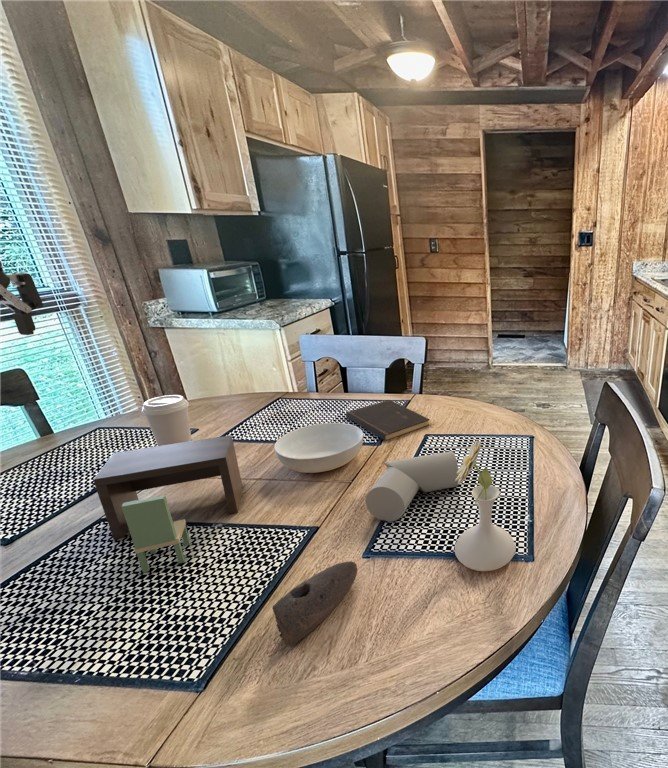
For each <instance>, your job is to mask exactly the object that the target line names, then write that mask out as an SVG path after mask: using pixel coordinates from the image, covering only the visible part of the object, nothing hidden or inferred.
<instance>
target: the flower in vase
mask: <svg viewBox="0 0 668 768" xmlns="http://www.w3.org/2000/svg"><path fill="white" fill-rule="evenodd" d="M481 445H482V442H480V441H479V440H476V441H475V443H471V445H470V446H469V450H468V455H464V456H463V458H462V462H463V463H461V465H460V467H458V471H457V474H459V475H458V477H457V478H456V480H455V481H457V480H458V485H460V484H463V482H464V481H465V480H466V478H467V477H468V476H469V475H470V474H471V472H472V469H473V468H475V469H476V471H477V473H478V474H479V475H478V479H477V480H478V483H479V484H480V485H476V486H475V487H473V488H472V490H471V496H472V498H474V499H475V501H474V505H475V506H478V515H479V516H478V517H479V519H478V524H476V525H474V526H470V527H469V528H467V529H466V530H465V531H463V532H462V533H461V534H460V535H459V536H458V538H457V540H456V542H455V544H454V554H455V558H457V560H458V562H460V563H461V564H462V565H463V566H464V567H466V568H468V569H470V570H473V571H477V572H492V571H496V570H498V569H501V568H504V567H505V566H506V565H507V564H509V562H511V560H512V559H513V558H514V556H515V554H516V543H515V540H514V538H513V537H512V535H511V534H510V533H509V532H508V531H507V530H505V529H504V528H502V527H501V526H498V525H495V524H494V523H493V521H492V516H493V515H492V513H493V507H494V504H495V501H496V500H497V499H498V498H499V496H500V494H501V492H500V489H499V488H498V487H497V486H495V485H493V481H494V480H493V477H492V475H491V473H490V471H489V470H488V468H487V466H485V467H484V468H483V469H482V471H481V470H480V469H479V467H478V465H477V464H476V462H477V460H478V457H479V454H480V450H481V447H482V446H481Z"/></svg>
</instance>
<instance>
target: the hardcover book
mask: <svg viewBox="0 0 668 768" xmlns="http://www.w3.org/2000/svg"><path fill="white" fill-rule="evenodd" d="M346 418H347V419H349V420H350V421H352V422H354V423H355V424H356V425H359V426H360V427H362V428H364V429H365V430H367V431H368V432H370V433H371V434H373V435H375V436H377V437H378V438H380V439H381V440H383V441H385V442H387V441H389V440H392V439H395V438H398V437H401V436H404V435H406V434H409V433H412V432H415V431H418V430H420V429H423V428H426V427H429V426H430V424H429V421H431V419H430V418H428V417H426V416H424V415H422V414H420V413H417V412H416V411H413V410H411V409H409V408H407V407H406V406H403V405H401V404H399V403H397V402H395V401H393V400H391V399H387V400H384V401H380V402H377V403H374V404H370V405H366V406H363V407H360V408H359V407H358V408H356V409H352V410H349V411H347V412H346Z"/></svg>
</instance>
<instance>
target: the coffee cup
mask: <svg viewBox="0 0 668 768" xmlns="http://www.w3.org/2000/svg"><path fill="white" fill-rule="evenodd" d="M189 406H190V403H189V401H188V400H187V399H186V398H185V397H184V396H183V395H180V394H167V395H161V396H157V397H152V398H150V399H147V400H146V401H145V402H143V406H142V407H141V414H142V415H144V416H145V418H146V421H147V423H148V425H149V428H150V430H151V433H152V435H153V437H154V440H155V442H156V446H163V445H169V444H176V443H183V442H189V441H193V440H192V432H191V424H190V418H189V409H188V407H189Z"/></svg>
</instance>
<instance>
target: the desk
mask: <svg viewBox="0 0 668 768" xmlns="http://www.w3.org/2000/svg"><path fill="white" fill-rule="evenodd" d="M215 477H220V479H221V483H222V488H223V492H224V496H225V500H226V505H227V509H228V514H229V515H233V514H238V513H239V511H240V510H239V509H240V503H241V497H242V492H243V482H242V477H241V472H240V467H239V463H238V458H237V453H236V449H235V444H234V440H233V435H223V436H218V437H210V438H204V439H197V440H192V441H189V442H183V443H176V444H169V445H163V446H158V445H156V446H151V447H144V448H137V449H131V450H124V451H117V452H113V453H112V455H111V456H110V457H109V459H108V460H107V461H106V463H104V465H103V466H102V467H101V469H100V471H98V473H97V474H96V475H95V476H94V478H93V479H92V481H93V484H94V486H95V490H96V492H97V495H98V498H99V501H100V504H101V507H102V510H103V513H104V515H105V519H106V522H107V525H108V526H109V530H110V533H111V536H112V538H113V540H114V541H116V540H121V539H125V537H126V535H127V533H128V531H129V528H128V525H127V522H126V519H125V516H124V513H123V510H122V505H123V503H125V502H131V501H136V500H140V499H139V495H138V493H137V492H140V491H145V490H146V491H147V490H150V489H151V490H152V489H156V488H160V487H167V486H173V485H178V484H183V483H189V482H193V481H195V482H196V481H199V480H204V479H210V478H215Z"/></svg>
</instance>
